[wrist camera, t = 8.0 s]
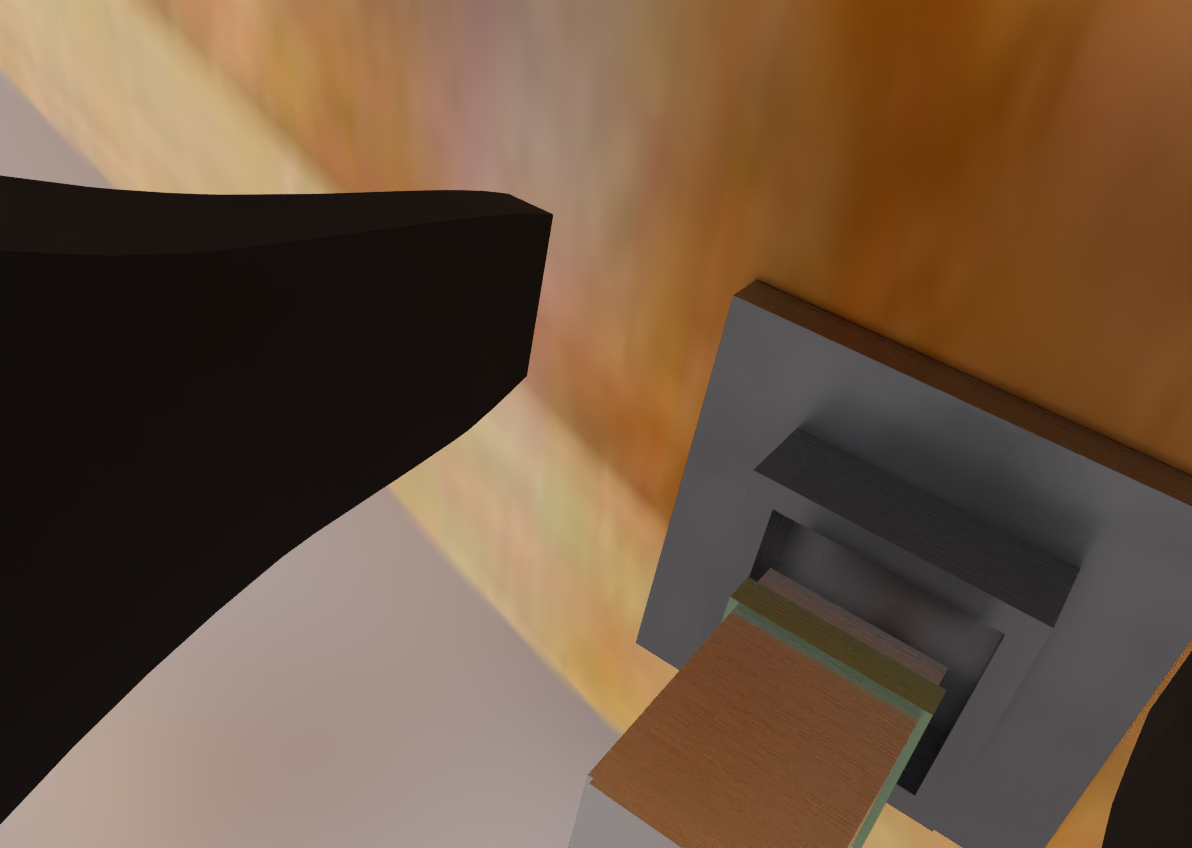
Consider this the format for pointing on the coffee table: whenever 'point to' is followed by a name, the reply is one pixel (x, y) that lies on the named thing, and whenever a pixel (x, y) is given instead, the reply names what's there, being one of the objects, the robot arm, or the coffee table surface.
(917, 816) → the grey slotted holder
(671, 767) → the pull-out drawer
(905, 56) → the coffee table surface
